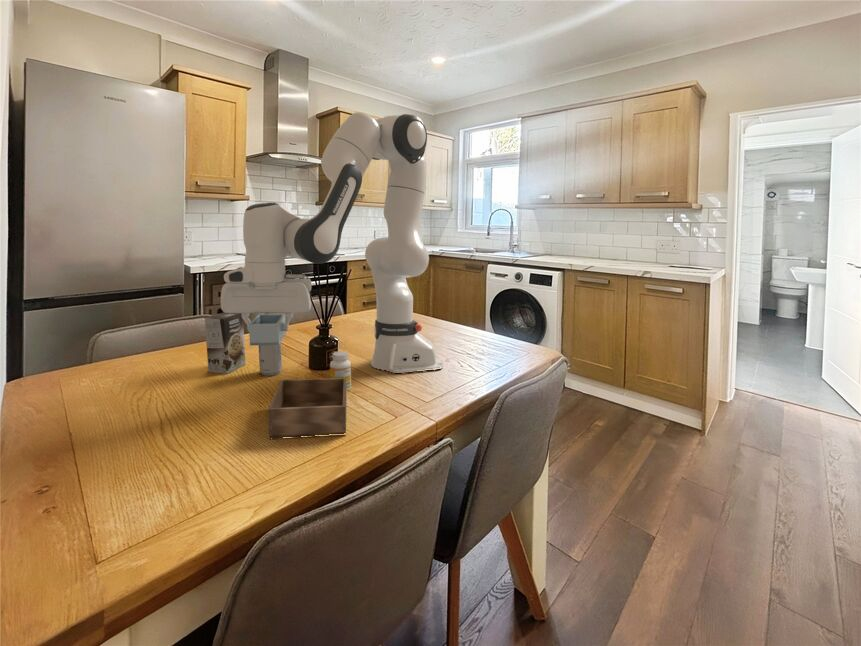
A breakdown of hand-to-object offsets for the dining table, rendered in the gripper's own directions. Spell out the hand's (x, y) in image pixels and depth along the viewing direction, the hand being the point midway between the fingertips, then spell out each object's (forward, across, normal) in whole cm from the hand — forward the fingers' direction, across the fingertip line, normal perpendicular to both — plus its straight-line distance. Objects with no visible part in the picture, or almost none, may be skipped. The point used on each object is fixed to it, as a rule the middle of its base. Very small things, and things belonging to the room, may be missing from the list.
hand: (268, 330), depth 109 cm
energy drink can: (+17, +3, -18) cm, 25 cm away
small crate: (+2, 0, 0) cm, 2 cm away
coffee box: (+17, +16, -23) cm, 33 cm away
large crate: (+17, -11, +14) cm, 25 cm away
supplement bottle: (+17, -17, -5) cm, 25 cm away
